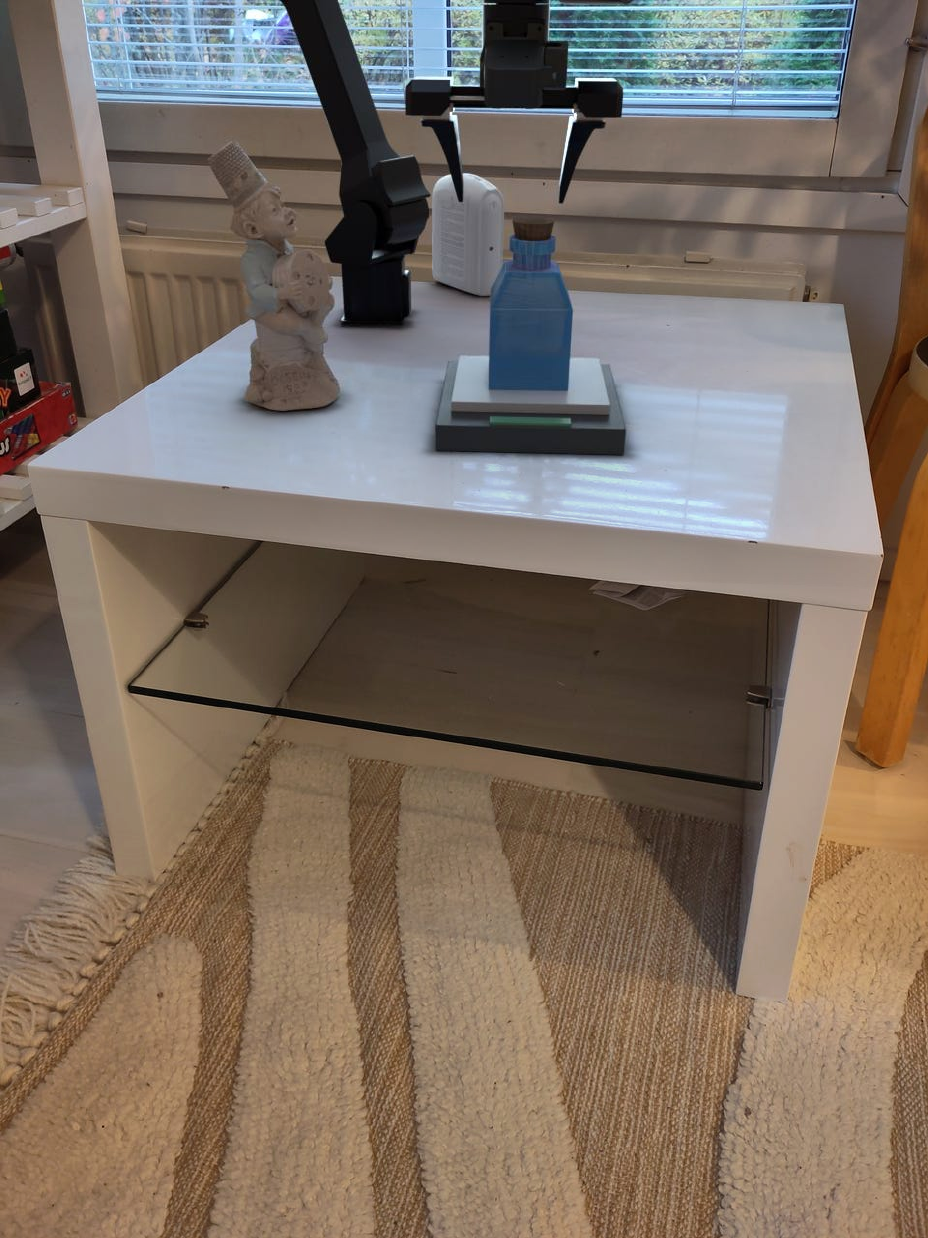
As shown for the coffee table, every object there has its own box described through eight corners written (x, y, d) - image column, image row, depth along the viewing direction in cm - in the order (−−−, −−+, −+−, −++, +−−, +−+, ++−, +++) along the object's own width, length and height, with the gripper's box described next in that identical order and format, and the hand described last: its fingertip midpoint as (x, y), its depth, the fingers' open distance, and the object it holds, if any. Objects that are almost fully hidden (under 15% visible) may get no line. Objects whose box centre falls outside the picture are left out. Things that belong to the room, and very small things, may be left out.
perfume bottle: (568, 390, 79) (578, 228, 73) (488, 389, 79) (491, 227, 73) (563, 366, 84) (572, 213, 78) (488, 365, 84) (491, 212, 78)
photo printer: (507, 293, 118) (510, 178, 111) (477, 298, 115) (479, 181, 109) (456, 276, 125) (456, 167, 118) (427, 281, 123) (426, 170, 116)
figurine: (217, 406, 84) (184, 139, 73) (274, 377, 90) (251, 129, 80) (309, 422, 81) (288, 146, 70) (361, 391, 87) (349, 134, 77)
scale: (435, 450, 76) (435, 414, 74) (448, 383, 89) (448, 351, 88) (623, 455, 75) (627, 418, 74) (607, 386, 89) (610, 354, 87)
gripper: (396, 3, 79) (401, 216, 87) (636, 4, 78) (619, 219, 86) (409, 3, 88) (412, 195, 97) (624, 5, 88) (609, 198, 96)
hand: (510, 202), depth 94 cm, fingers open, 9 cm apart
